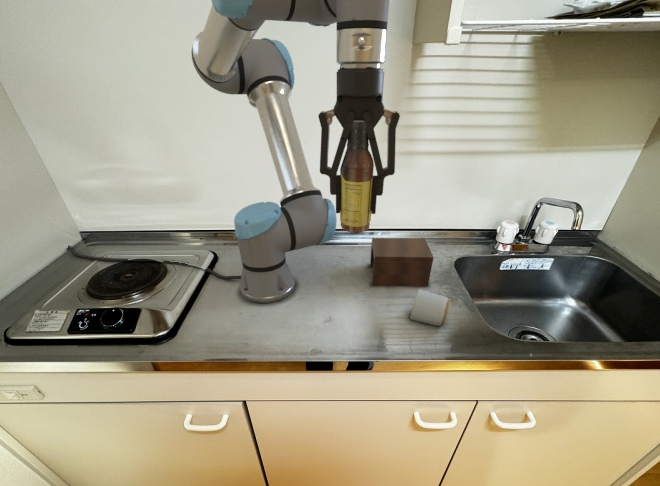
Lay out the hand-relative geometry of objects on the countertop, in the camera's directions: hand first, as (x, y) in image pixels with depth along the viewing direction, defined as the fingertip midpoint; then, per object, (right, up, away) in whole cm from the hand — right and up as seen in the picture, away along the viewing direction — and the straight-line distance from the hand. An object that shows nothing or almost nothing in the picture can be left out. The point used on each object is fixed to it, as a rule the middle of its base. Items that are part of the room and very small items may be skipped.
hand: (355, 210), depth 63 cm
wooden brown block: (+15, -10, +33) cm, 38 cm away
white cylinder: (+19, -22, +17) cm, 34 cm away
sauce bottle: (0, -3, +3) cm, 4 cm away
